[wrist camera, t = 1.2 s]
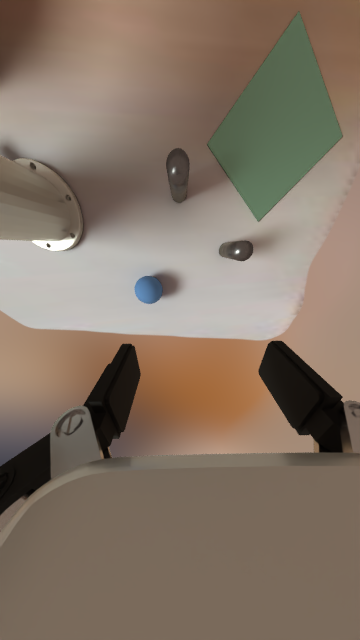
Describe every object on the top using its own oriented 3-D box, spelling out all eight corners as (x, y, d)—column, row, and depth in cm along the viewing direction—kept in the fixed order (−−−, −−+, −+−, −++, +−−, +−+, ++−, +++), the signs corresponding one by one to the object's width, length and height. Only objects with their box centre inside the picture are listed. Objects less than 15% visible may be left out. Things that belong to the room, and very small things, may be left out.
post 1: (168, 193, 23) (161, 166, 15) (178, 178, 23) (177, 140, 15) (179, 206, 24) (178, 187, 16) (189, 192, 23) (194, 164, 15)
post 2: (216, 250, 27) (230, 251, 19) (226, 239, 27) (246, 236, 19) (224, 260, 28) (241, 265, 20) (234, 249, 27) (256, 250, 19)
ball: (134, 287, 31) (125, 294, 26) (149, 268, 29) (142, 272, 24) (153, 303, 33) (148, 313, 28) (168, 286, 31) (166, 293, 26)
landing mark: (207, 144, 21) (207, 143, 21) (297, 13, 16) (299, 10, 16) (258, 221, 25) (258, 221, 25) (341, 137, 20) (342, 136, 20)
